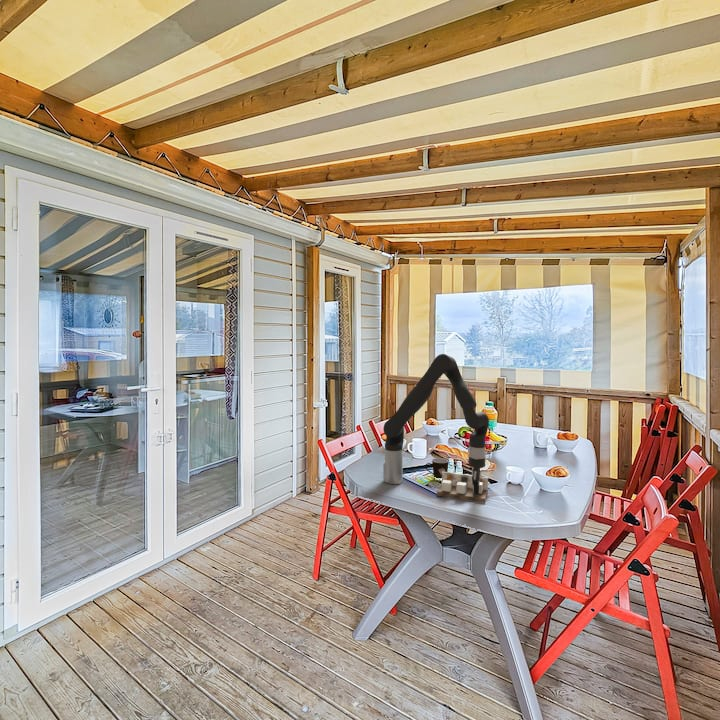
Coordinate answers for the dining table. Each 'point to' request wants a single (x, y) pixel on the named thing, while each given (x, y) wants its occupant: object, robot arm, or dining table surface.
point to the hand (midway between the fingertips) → (476, 492)
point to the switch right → (479, 487)
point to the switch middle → (461, 487)
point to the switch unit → (469, 492)
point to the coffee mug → (438, 466)
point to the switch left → (446, 485)
